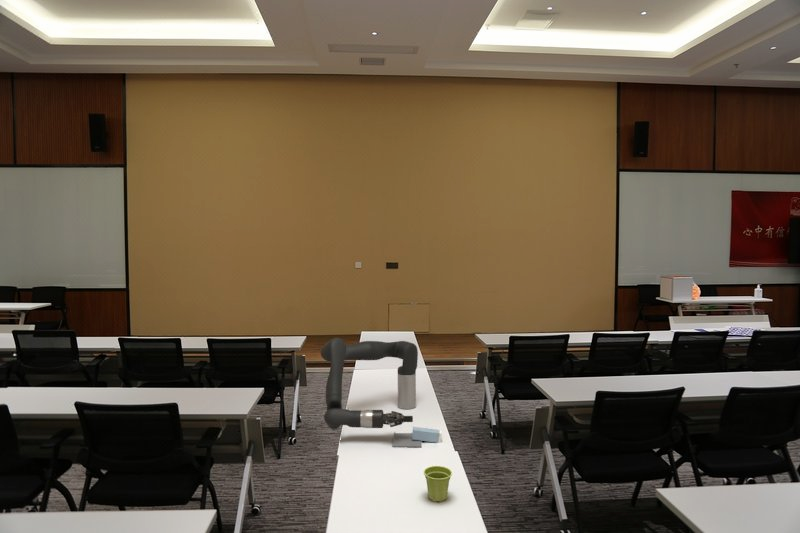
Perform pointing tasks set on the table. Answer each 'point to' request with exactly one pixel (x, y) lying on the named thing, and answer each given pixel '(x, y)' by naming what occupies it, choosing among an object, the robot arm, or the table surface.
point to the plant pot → (437, 482)
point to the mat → (405, 441)
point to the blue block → (426, 434)
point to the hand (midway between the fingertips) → (412, 418)
